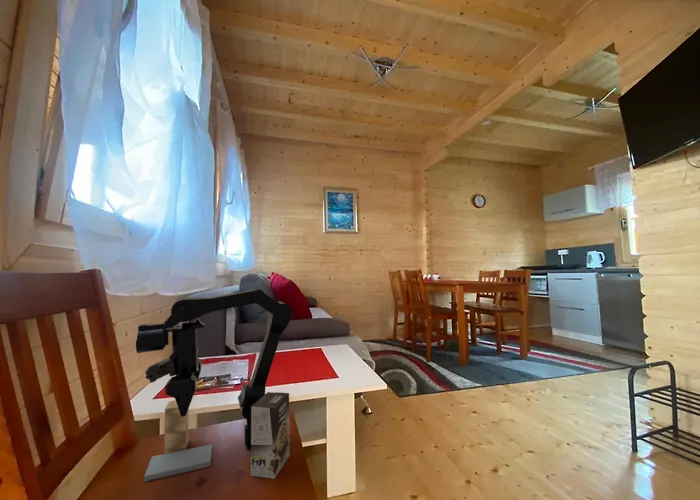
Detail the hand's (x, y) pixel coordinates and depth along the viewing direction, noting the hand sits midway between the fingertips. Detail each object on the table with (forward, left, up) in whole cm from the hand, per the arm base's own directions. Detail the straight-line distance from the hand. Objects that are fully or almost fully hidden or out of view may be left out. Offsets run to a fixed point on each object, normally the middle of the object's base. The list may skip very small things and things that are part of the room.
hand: (186, 408), depth 80 cm
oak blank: (+3, -7, -13) cm, 15 cm away
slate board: (+1, +1, -13) cm, 13 cm away
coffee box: (-20, +11, -13) cm, 26 cm away
